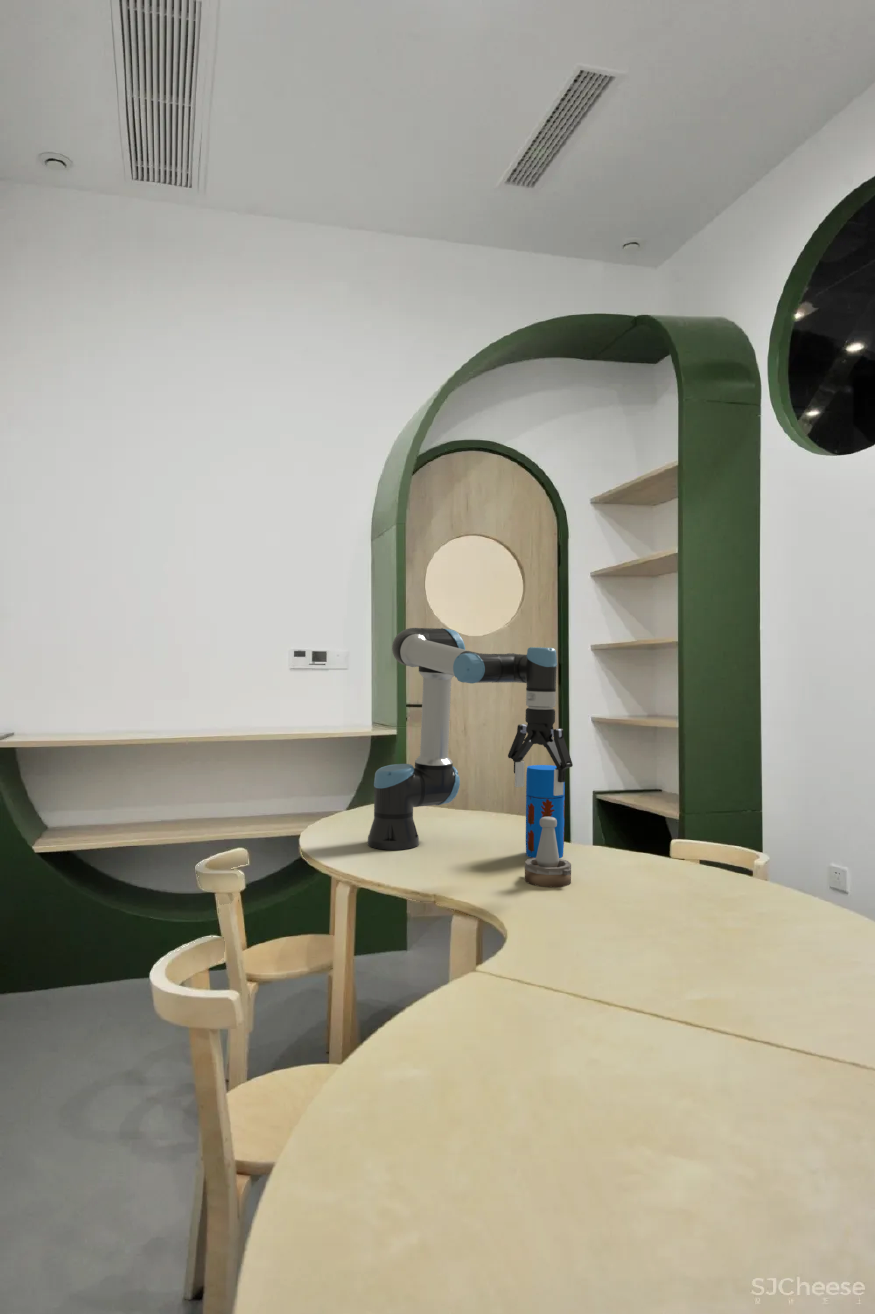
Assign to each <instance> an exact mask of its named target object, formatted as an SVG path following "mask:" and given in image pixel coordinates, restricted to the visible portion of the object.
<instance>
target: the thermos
mask: <svg viewBox="0 0 875 1314" xmlns="http://www.w3.org/2000/svg"><path fill="white" fill-rule="evenodd" d="M555 768H557V767H556V765H550V764H534V765H528V766H527V767H526V772H525V773H526V777H525V778H526V779H525V782H526V785H525V789H526V791H525V794H526V795H525V852H526V853H525V855H526V856H527V857H528V858H530V859H532V858H536V856H537V851H538V847H539V842H540V837H541V832H542V827H541V826H540V819H541V818H542V817H553V818H555V819H556V820H557V826H556V827H554V828H555V835H556V841H557V848H558V854H559V859H562V858H563V857H564V847H565V845H564V844H565V798H566V797H565V792H566V791H565V789H566V788H565V787H566V786H565V783H566V781H565V782H564V783H563V795H558V796H554V769H555Z"/></svg>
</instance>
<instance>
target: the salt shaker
mask: <svg viewBox="0 0 875 1314" xmlns="http://www.w3.org/2000/svg"><path fill="white" fill-rule="evenodd" d="M540 826H541V827H542V832H541V837H540V842H539V847H538V851H537V856H536V861H537V863H538V866H539V867H548V868H551V867H557V866H558V863H559V859H560V858H559V854H558V848H557V841H556V835H555V828H554V827H556V826H557V820H556V819H555V818H553V817H542V818H541V819H540Z"/></svg>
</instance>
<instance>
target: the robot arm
mask: <svg viewBox="0 0 875 1314" xmlns="http://www.w3.org/2000/svg"><path fill="white" fill-rule="evenodd" d="M391 651H392V655H393V657H394V659H395V660H396V661H397V662H398V663H399V664H401V665H403V666H406V667H409V668H410V667H411V668H417V667H418V674H420V675H421V676H422V679H423V680H422V700H421V701H422V702H421V703H422V704H421V728H420V746H419V747H420V749H419V756H418V757H417V758H415V759H414V765H412V764H410V763H395V764H389V765H385V766H382V767H380V768H378V769H377V770H376V771H375V773H374V782H373V786H374V787H373V793H374V794H373V798H374V799H373V801H374V802H373V820H372V822H371V823H372V824H371V827H370V830H369V833H368V836H367V845H368V846H369V847H371V848H374V849H378V850H386V851H387V850H388V851H389V850H390V851H391V850H392V851H399V850H409V849H413V848H415V847H418V846H419V842H420V841H419V840H420V839H419V834H418V831H417V827H416V825H415V821H414V808H418V807H419V808H420V807H428V806H429V807H430V806H441V805H444V804H449V803H452V801H453V800H454V799H455V798H456V797H457V795H458V793H459V790H460V786H461V784H460V783H461V779H460V775H459V771H458V769H457V768H456V767H455V766H454V765H453V763H454V762H453V760H452V759H451V758H450V757H449V744H450V743H449V742H450V741H449V740H450V739H449V738H450V717H451V715H450V714H451V694H452V693H451V691H452V688H451V687H452V679H453V678H454V677H455V678H456V680H457V681H458V682H459V683H466V684H478V683H480V684H481V683H482V684H483V683H492V684H493V683H498V684H499V683H500V684H501V683H506V684H507V683H519V684H520V683H521V684H526V688H525V689H526V690H525V692H526V693H525V694H526V695H525V706H527V708H526V709H525V722H526V724H525V723H522V724H518V725H517V726H516V727H517V728H516V733H515V736H514V739H513V741H512V744H511V746H510V749H509V751H508V754H507V757H508V759H512V761H513V774H514V788H523V787H525V769H526V768H525V763H526V762H525V761H524V759H525V757H526V755H528V753H529V751H530V750H531V749H532V747H533V745H539V746H543V747H544V748H545V749H546V751H547V752H548V754H549V757H550V758H551V760H552V761H553V763H554V766H556V767H557V768H555V769H554V796H558V795H563V783H564V782H565V783H566V774H567V773H566V771H567V769H569V768H572V767H573V761H572V758H571V756H570V752H569V750H568V747H567V744H566V740H565V736H564V735H565V734H564V729H563V728H555V729H554V724H555V723H556V710H555V707H556V704H557V703H556V701H557V700H556V699H557V698H556V697H557V695H556V694H557V692H556V691H557V689H556V688H557V669H558V668H557V667H558V659H557V658H558V657H557V651H556V649H555V648H554V647H541V646H540V647H538V646H537V647H533V646H531V647H528V648H527V652H526V654H521V653H513V652H512V653H510V652H509V653H483V652H482V653H479V652H475V651H472V650H468V649H466V645H465V642H464V640H463V638H462V637H461V634H459V632H457V631H456V630H454V629H450V628H443V627H442V628H438V627H437V628H435V627H434V628H432V627H431V628H427V627H409V628H406V629H403V630H402V631H400V632H399V633H397V635H396V636H395V637H394V639H393V641H392V645H391Z"/></svg>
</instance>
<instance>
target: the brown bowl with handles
mask: <svg viewBox="0 0 875 1314" xmlns="http://www.w3.org/2000/svg"><path fill="white" fill-rule="evenodd" d="M524 881H525V883H527V884H529V885H532V886H534V887H535V886H537V887H541V888H561V887H566V886H569V885H570V884H571V883H572V863H571V862H570V861H569V860H565V859H562V858H559V863H558V866H557V867H551V868H548V867H539V866H538V863H537V861H536V858H528V859H526V860H525V861H524Z"/></svg>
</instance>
